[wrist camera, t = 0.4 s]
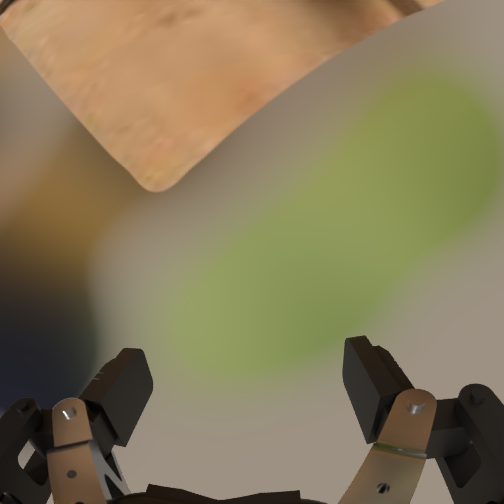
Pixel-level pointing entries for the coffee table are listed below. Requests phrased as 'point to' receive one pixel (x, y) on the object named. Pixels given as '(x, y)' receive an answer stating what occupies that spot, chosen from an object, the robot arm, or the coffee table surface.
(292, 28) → the coffee table surface
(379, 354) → the robot arm
